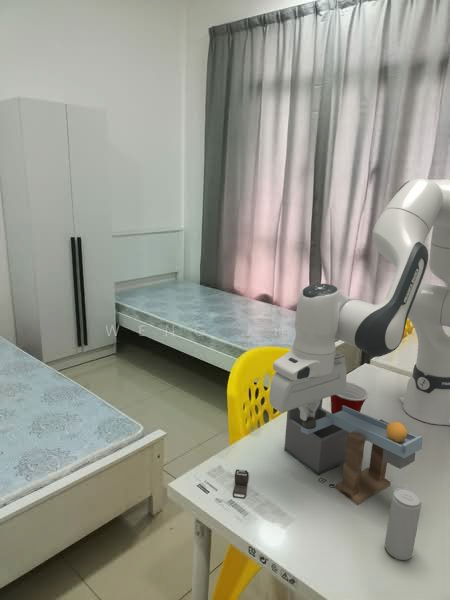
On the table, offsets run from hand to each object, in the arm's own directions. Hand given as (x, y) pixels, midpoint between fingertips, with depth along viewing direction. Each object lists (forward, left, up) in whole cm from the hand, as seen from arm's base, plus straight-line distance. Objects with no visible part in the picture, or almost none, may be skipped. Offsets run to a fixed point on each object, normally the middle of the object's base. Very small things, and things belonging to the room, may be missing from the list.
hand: (307, 418), depth 94 cm
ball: (-10, +16, +2) cm, 18 cm away
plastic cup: (-26, -9, -16) cm, 31 cm away
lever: (-6, +10, -5) cm, 12 cm away
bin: (-10, -4, -15) cm, 19 cm away
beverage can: (-1, +25, -16) cm, 29 cm away
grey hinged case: (+13, -5, -16) cm, 21 cm away
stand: (-10, +10, -15) cm, 20 cm away
